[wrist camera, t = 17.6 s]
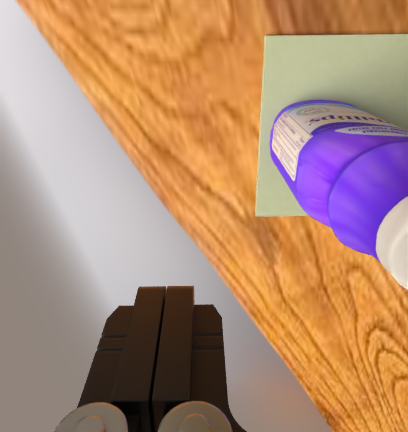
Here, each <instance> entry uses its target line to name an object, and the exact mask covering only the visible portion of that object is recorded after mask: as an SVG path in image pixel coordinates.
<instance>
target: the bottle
mask: <svg viewBox="0 0 408 432" xmlns="http://www.w3.org/2000/svg"><path fill="white" fill-rule="evenodd" d="M269 145H270V154H271V158H272V161H273V163H274V164H275V166H276V167H277V168H278V170H279V172H280V173H281V175H282V177H283V178H284V180H285V182H286V183H287V185H288V187H289V188H290V190H291V191H292V193H293V195H294V196H295V198H296V200H297V201H298V203H299V205H300V206H301V207H302V209H303V210H304V211H305V212H306V213H307V214H308V215H309V216H311V217H312V218H314V219H315V220H317V221H319V222H321V223H323V224H325V225H327V226H329V227H332V229H333V231H334V233H335V235H336V237H337V238H338V239H339V241H340V242H341V243H343V244H344V245H346V246H348V247H350V248H352V249H354V250H356V251H358V252H361V253H365V254H368V255H373V256H374V257H375V258H376V259H377V260H378V261H379V262H380V263H381V264H382V265H383V267H384V268H385V269H386V270H387V271H388V272H389V273H390V274H391V275H392V276H393V277H394V279H395V280H396V281H397V282H398V283H399V284H400V285H401V286H403V287H404V288H406V289H407V290H408V130H404V129H402V128H400V127H397V126H395V125H393V124H391V123H389V122H386V121H384V120H382V119H380V118H378V117H376V116H373V115H371V114H369V113H367V112H365V111H363V110H361V109H359V108H357V107H355V106H353V105H351V104H348V103H344V102H340V101H333V100H307V101H301V102H297V103H293V104H291V105H289V106H287V107H285V108H284V109H282V110H281V111H280V112H279V114H278V115H277V117H276V118H275V120H274V123H273V127H272V129H271V132H270V143H269Z"/></svg>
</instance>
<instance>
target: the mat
mask: <svg viewBox="0 0 408 432" xmlns="http://www.w3.org/2000/svg"><path fill="white" fill-rule="evenodd" d="M307 100H333V101H340V102H344V103H348V104H351V105H353V106H355V107H357V108H359V109H361V110H363V111H365V112H367V113H369V114H371V115H373V116H376V117H378V118H380V119H382V120H384V121H386V122H389V123H391V124H393V125H395V126H397V127H400V128H402V129H404V130H408V34H355V35H267V36H265V37H264V55H263V73H262V92H261V110H260V129H259V147H258V166H257V184H256V202H255V215H256V216H309V215H308V214H307V213H306V212H305V211H304V210H303V209H302V207H301V206H300V205H299V203H298V201H297V200H296V198H295V196H294V195H293V193H292V191H291V190H290V188H289V187H288V185H287V183H286V182H285V180H284V178H283V177H282V175H281V173H280V172H279V170H278V168H277V167H276V166H275V164H274V163H273V161H272V158H271V154H270V145H269V143H270V132H271V129H272V127H273V123H274V120H275V118H276V117H277V115H278V114H279V112H280V111H281V110H282V109H284V108H285V107H287V106H289V105H291V104H293V103H297V102H301V101H307Z"/></svg>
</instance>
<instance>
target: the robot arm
mask: <svg viewBox="0 0 408 432" xmlns="http://www.w3.org/2000/svg"><path fill="white" fill-rule="evenodd" d="M54 432H246V431H245V430H244V429H242V428H241V426H240V425H239V424H238V423H237V422H236V421H235V419H234V418H233V416H232V414H231V412H230V409H229V405H228V398H227V384H226V371H225V356H224V342H223V329H222V317H221V316H220V314H219V313H218V312H217V310H216V308H215V307H214V305H194V286H168V287H167V289H166V287H165V286H163V287H139V288H138V292H137V295H136V299H135V303H134V306H119V307H118V308H117V309H116V310H115V311H114V312H113V313H112V314H111V315H110V316H109V317H108V319H107V321H106V323H105V327H104V329H103V332H102V338H101V339H100V342H99V345H98V347H97V351H96V353H95V356H94V359H93V362H92V365H91V368H90V372H89V374H88V377H87V380H86V383H85V386H84V390H83V392H82V395H81V398H80V401H79V404H78V406H77V409H75V410H73V411H72V412H70V413H69V414H68V415H67V416H66V417H65V418H64V419H63V420H62V421H61V422H60V423H59V425H58V426H57V427H56V429H55V431H54Z"/></svg>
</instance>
